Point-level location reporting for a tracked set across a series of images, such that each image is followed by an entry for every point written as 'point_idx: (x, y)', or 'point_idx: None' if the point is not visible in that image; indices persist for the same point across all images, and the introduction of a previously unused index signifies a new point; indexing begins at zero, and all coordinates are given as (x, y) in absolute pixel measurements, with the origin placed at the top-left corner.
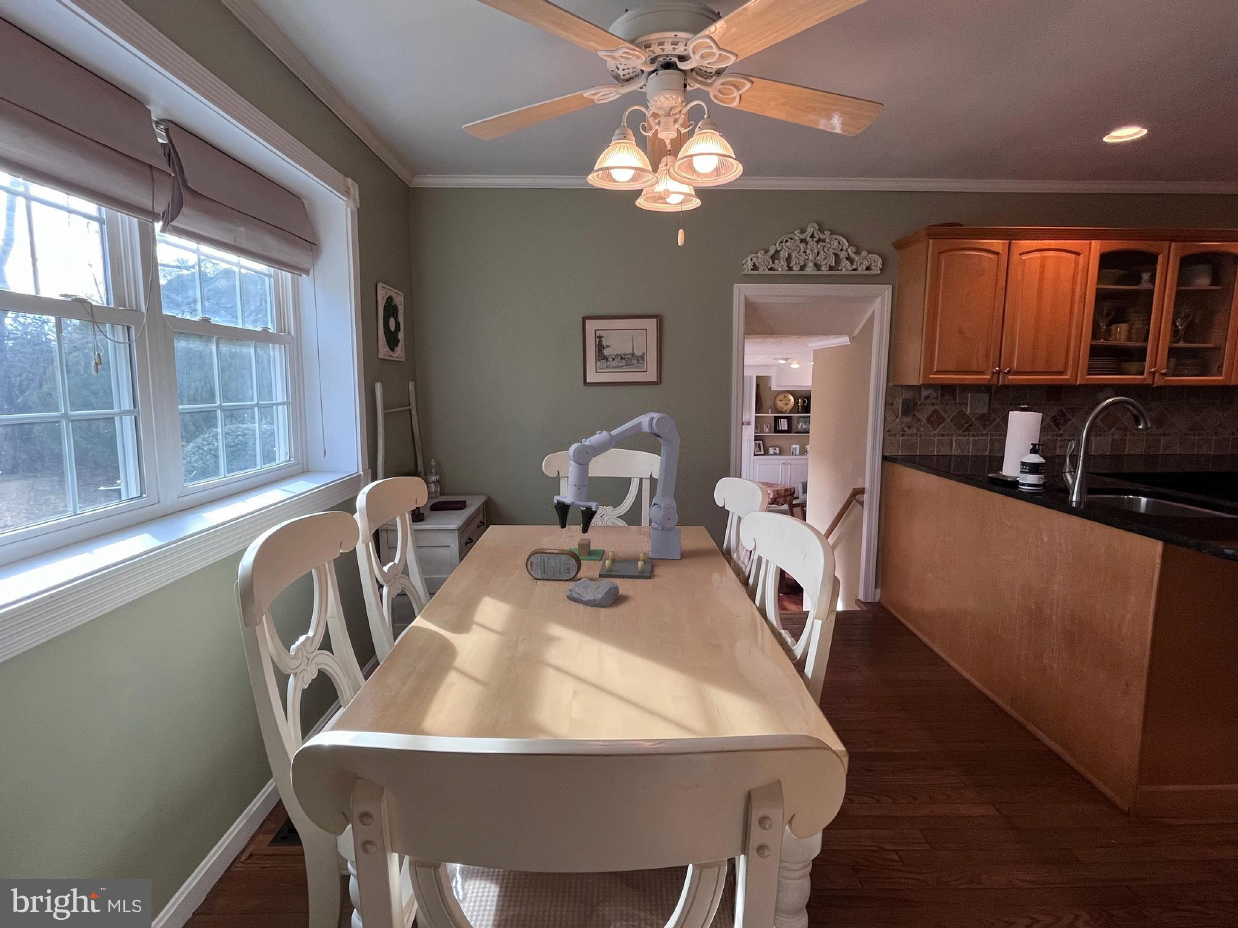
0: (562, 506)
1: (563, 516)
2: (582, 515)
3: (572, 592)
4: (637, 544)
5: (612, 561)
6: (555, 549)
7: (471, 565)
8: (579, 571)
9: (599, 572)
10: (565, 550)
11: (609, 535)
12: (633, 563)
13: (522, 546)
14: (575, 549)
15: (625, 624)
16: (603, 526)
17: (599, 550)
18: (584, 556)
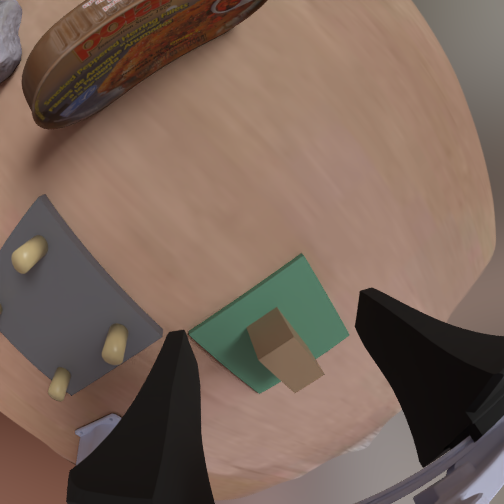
0: (472, 406)
1: (410, 357)
2: (153, 454)
3: None
4: (229, 447)
5: (109, 329)
6: (132, 3)
7: (441, 52)
8: (66, 123)
9: (47, 210)
10: (69, 41)
11: (322, 435)
12: (68, 356)
13: (449, 255)
14: (328, 341)
15: None
16: (360, 439)
17: (262, 382)
18: (255, 319)
